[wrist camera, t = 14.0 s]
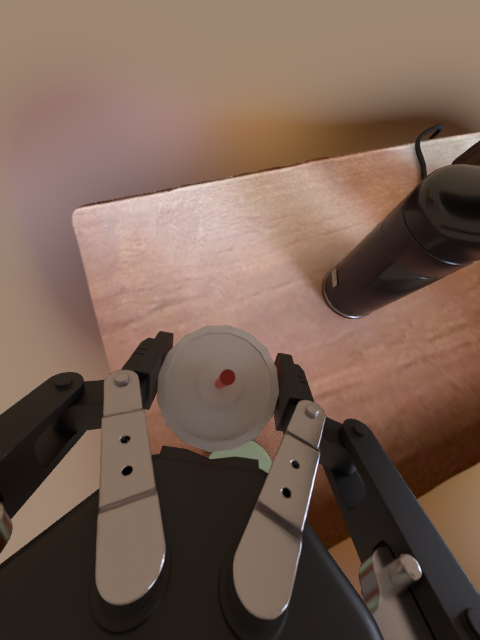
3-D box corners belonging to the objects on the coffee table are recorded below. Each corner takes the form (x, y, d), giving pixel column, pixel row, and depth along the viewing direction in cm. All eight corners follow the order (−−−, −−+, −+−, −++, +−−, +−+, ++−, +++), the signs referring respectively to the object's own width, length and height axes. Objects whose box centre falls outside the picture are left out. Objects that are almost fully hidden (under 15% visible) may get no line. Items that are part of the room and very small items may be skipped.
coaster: (234, 422, 32) (235, 422, 31) (286, 469, 31) (287, 471, 30) (187, 482, 29) (186, 484, 28) (242, 536, 28) (242, 539, 28)
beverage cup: (163, 401, 19) (67, 420, 6) (204, 339, 21) (196, 252, 8) (227, 441, 19) (270, 548, 6) (262, 374, 21) (353, 343, 8)
